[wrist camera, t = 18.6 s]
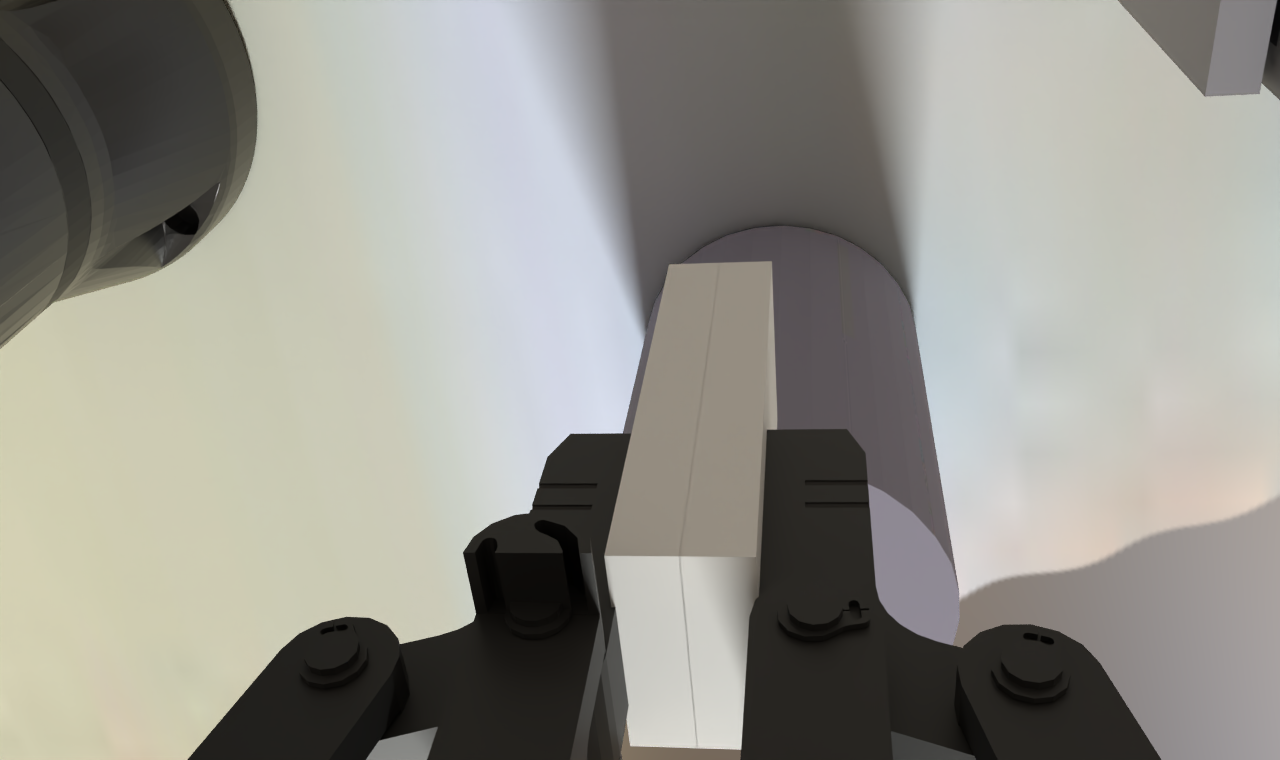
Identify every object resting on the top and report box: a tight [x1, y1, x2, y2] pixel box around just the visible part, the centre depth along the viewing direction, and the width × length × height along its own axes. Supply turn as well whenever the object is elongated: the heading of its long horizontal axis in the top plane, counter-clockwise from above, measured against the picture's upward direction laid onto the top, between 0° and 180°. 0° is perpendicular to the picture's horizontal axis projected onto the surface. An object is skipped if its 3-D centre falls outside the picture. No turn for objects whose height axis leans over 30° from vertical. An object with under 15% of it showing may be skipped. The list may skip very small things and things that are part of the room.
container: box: [623, 226, 959, 645], centre depth 39 cm, size 10×10×15 cm
